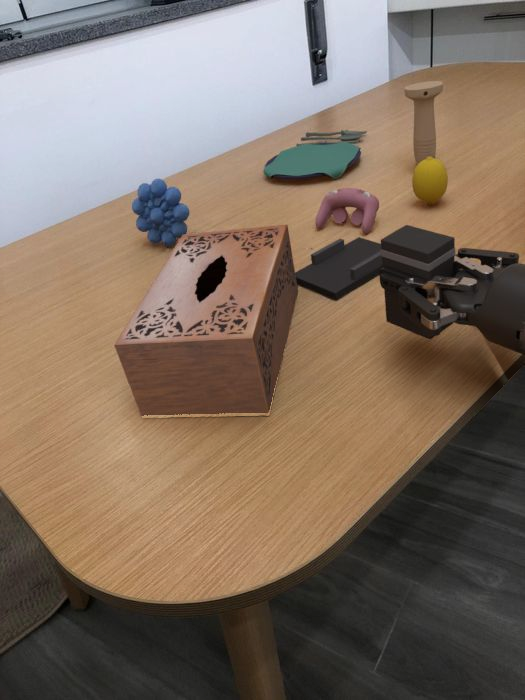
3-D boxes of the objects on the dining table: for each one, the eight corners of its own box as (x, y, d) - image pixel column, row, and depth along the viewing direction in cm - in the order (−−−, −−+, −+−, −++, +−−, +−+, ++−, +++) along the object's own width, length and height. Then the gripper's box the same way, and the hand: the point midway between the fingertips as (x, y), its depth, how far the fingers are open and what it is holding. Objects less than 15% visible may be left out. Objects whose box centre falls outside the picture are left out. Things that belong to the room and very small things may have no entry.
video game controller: (378, 235, 97) (384, 190, 95) (367, 234, 93) (372, 188, 91) (325, 230, 102) (329, 187, 100) (311, 229, 98) (316, 184, 97)
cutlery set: (251, 187, 121) (248, 176, 119) (300, 138, 142) (298, 129, 141) (346, 185, 113) (345, 173, 111) (383, 134, 134) (382, 123, 133)
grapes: (210, 236, 104) (194, 169, 97) (189, 254, 99) (171, 185, 93) (157, 233, 109) (138, 169, 103) (135, 250, 105) (114, 184, 98)
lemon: (415, 198, 102) (414, 152, 98) (449, 197, 100) (449, 149, 96) (410, 212, 98) (409, 164, 94) (446, 211, 96) (446, 162, 92)
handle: (406, 168, 115) (402, 85, 106) (440, 163, 114) (440, 79, 105) (409, 177, 111) (406, 91, 102) (445, 172, 110) (445, 85, 101)
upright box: (409, 305, 68) (406, 224, 62) (455, 322, 64) (455, 237, 58) (385, 321, 66) (379, 239, 61) (430, 340, 62) (428, 254, 56)
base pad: (359, 243, 92) (358, 227, 90) (405, 258, 86) (405, 241, 84) (291, 282, 86) (288, 265, 84) (336, 300, 79) (333, 283, 78)
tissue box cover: (199, 297, 87) (182, 234, 81) (298, 291, 83) (287, 224, 78) (142, 418, 66) (114, 345, 61) (269, 416, 63) (252, 338, 57)
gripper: (599, 245, 53) (438, 208, 65) (504, 319, 46) (345, 262, 58) (588, 317, 57) (439, 269, 69) (500, 393, 51) (352, 326, 63)
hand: (397, 266), depth 64 cm, fingers closed on upright box, 4 cm apart
